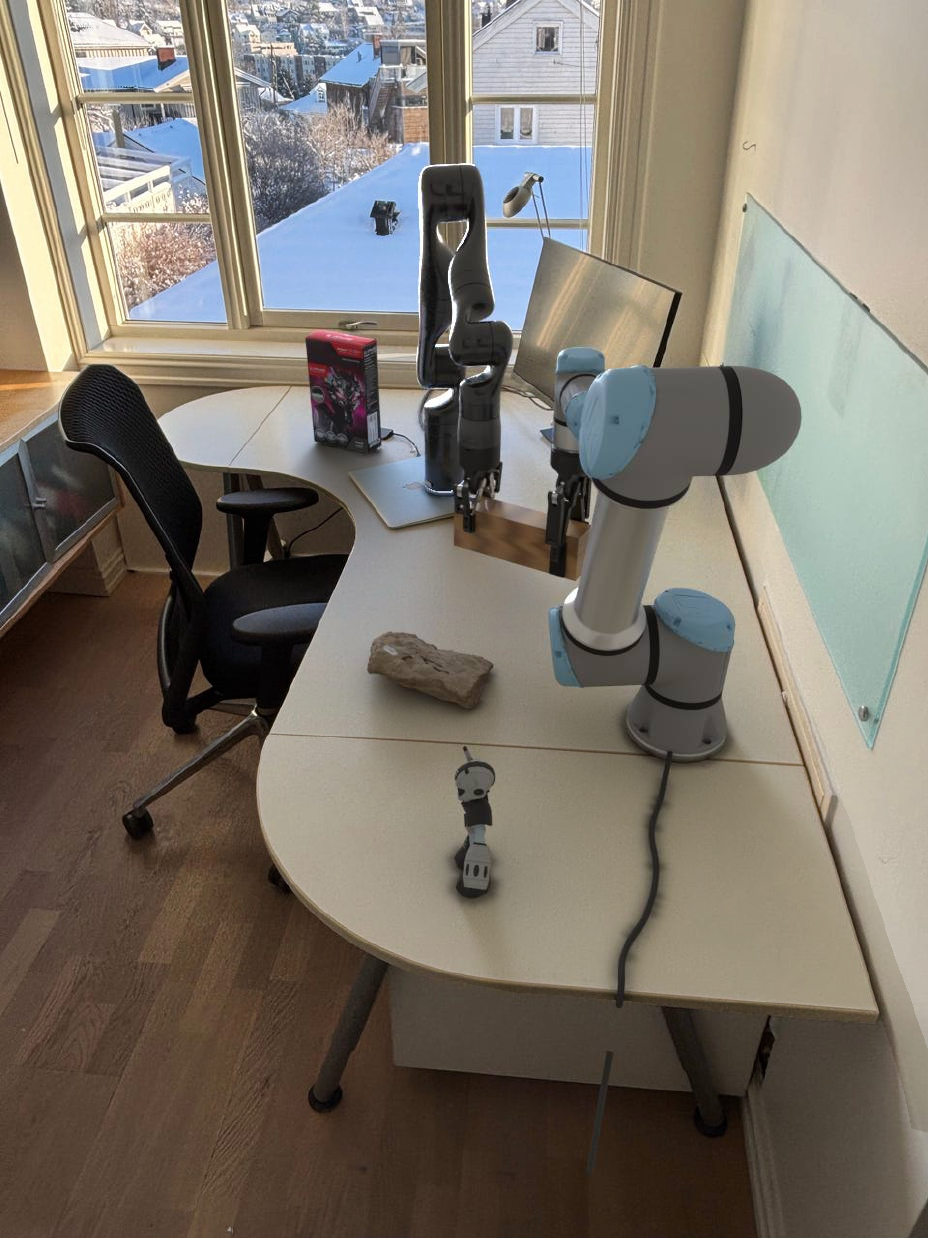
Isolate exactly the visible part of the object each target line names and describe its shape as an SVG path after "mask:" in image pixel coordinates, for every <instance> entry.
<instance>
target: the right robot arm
mask: <svg viewBox="0 0 928 1238" xmlns="http://www.w3.org/2000/svg"><path fill="white" fill-rule="evenodd" d="M554 374H555V380H554V402H553V404H554V405H553V415H552V420H551V422H550V426H551V427H552V432H551V433H552V434H551V442H552V444H551V446H550V458H549V459H550V460H549V461H550V462H549V465H550V467H551V468H552V469H553V470H554V471H555V472H556V473H557V478H556V481H555V489H554V491H552V490H549V491H548V492H547V496H546V497H547V512H546V513H547V524H546V535H545V544H547V545H551V551H550V565H549V573H548V575H550V576H554V577H558V578H562V579H564V578H563V577H564V576H565V566H566V553H567V543H565V540H566V535H567V529H568V524H569V519H571V520H575V521H578V522H582V523H586V524H590V525H591V527H590V532H589V537H588V542H587V547H586V552H585V557H584V562H583V567H582V571H581V576H580V577H579V581H578V586H577V588H575V589H573V590H572V591H571V592H570V593H569V594H568V596H567V597H566V598H565V601H564V602H563V605H557V606H554V607H551V608H550V609H548V612H547V613H548V614H547V615H548V617H547V618H548V630H549V631H548V632H549V642H550V643H549V644H550V651H551V652H550V653H551V660H552V661H551V662H552V668H553V669H552V670H553V674H554V679H555V681H556V682H557V683H558V685H560V686H562V687H570V688H571V687H572V688H574V687H575V688H577V687H578V688H579V689H584V688H595V687H597V688H598V687H599V688H600V687H624V686H629V687H630V686H640V688H639V689H638V691H637V692H636V694H635V695H634V697H633V699H632V701H631V702H630V704H629V706H628V708H627V711H626V719H625V728H626V732H627V734H628V736H629V738H630V739H631V741H632V742H634V744H636V745H637V746H638V747H639V748H640V749H641V750H643V751H645V752H646V753H648V754H650V755H651V756H654V757H656V758H659V759H662V760H665V762H664V767H663V771H662V777H661V783H660V787H659V792H658V797H657V798H656V803H655V805H654V808H653V811H652V814H651V817H650V821H649V826H648V843H649V848H650V853H651V860H652V879H651V887H650V891H649V895H648V898H647V902H646V905H645V907H644V910H643V912H642V915H641V916H640V918H639V920H638V922H637V923H636V925H635V927H633V929H632V930H631V932H630V934H629V935H628V936H627V938H626V940H625V942H624V944H623V945H622V947H621V948H622V949H621V952H620V955H619V959H618V963H617V964H618V965H617V991H616V997H615V998H616V999H615V1007H616V1009H622V1007H623V1005H624V999H625V991H626V990H625V989H626V962H627V957H628V954H629V952H630V949H631V947H632V946H633V944H634V942H635V941H636V939H637V938H638V936H639V934H640V933H641V932H642V930H643V929H644V927H645V925H646V923H647V922H648V919H649V917H650V915H651V912H652V909H653V906H654V903H655V901H656V897H657V892H658V888H659V881H660V858H659V852H658V848H657V843H656V833H655V832H656V824H657V820H658V816H659V814H660V811H661V808H662V805H663V802H664V798H665V794H666V790H667V784H668V779H669V776H670V775H669V774H670V769H671V764H672V762H675V763H694V762H700V761H703V760H706V759H709V758H711V757H714V755H716V754H718V752H720V751H721V750H722V748H723V747H724V744H725V743H726V740H727V739H726V738H727V733H728V721H727V716H726V712H725V708H724V707H725V706H724V701H723V692H724V686H725V682H726V678H727V674H728V669H729V664H730V659H731V654H732V651H733V649H734V646H735V631H736V620H735V617H734V614H733V612H732V611H731V609H730V608H729V607H728V606H727V605H726V604H725V603H723V601H721V600H720V599H718V598H716V597H715V596H712V595H711V594H709V593H706V592H704V591H701V590H698V589H695V588H694V589H693V588H686V587H672V588H667V589H665V590H664V591H660V592H659V593H658V595H657V596H656V597H655V599H654V600H653V604H643V603H642V600H643V597H644V593H645V590H646V588H647V583H648V580H649V577H650V573H651V571H652V568H653V567H652V566H653V563H654V560H655V556H656V554H657V550H658V547H659V543H660V540H661V536H662V534H663V530H664V526H665V523H666V520H667V516H668V513H669V509H670V507H672V506H674V505H675V504H677V503H679V502H680V501H681V500H682V499H684V497H685V496H686V494H687V493H688V492H689V489H690V486H691V483H692V481H693V478H694V477H723V476H724V477H725V476H726V477H727V476H738V475H744V474H749V473H752V472H756V471H759V470H761V469H764V468H766V467H768V466H769V465H771V464H773V463H775V462H777V461H778V460H779V459H780V458H782V457H783V456H784V455H786V453H787V452H788V450H790V449H791V447H792V446H793V445H794V443H795V441H796V439H797V438H798V436H799V432H800V430H801V426H802V418H803V417H802V407H801V403H800V400H799V397H798V396H797V394H796V392H795V389H793V388H792V387H791V385H790V384H789V383H788V382H787V381H785V380H784V379H782V378H781V377H779V376H778V375H776V374H774V373H772V372H771V371H767V370H763V369H761V368H758V367H757V368H756V367H752V366H751V367H750V366H745V365H721V366H719V365H718V366H717V365H716V366H715V365H712V366H711V365H710V366H706V365H705V366H667V367H666V366H665V367H663V366H662V367H648V366H647V365H643V364H636V365H631V366H629V367H615V368H609V369H607V370H606V357H605V355H604V353H603V352H602V351H600V350H598V349H596V348H592V347H588V346H587V347H586V346H572V347H569V348H565V349H563V350H561V351H560V352H559V353H558V355H557V358H556V367H555V370H554ZM592 484H593V487H594V488H595V489H596V490H597V494H596V499H595V503H594V504H595V505H594V508H593V513H592V518H591V523H590V522H589V521H586V520H588V519H589V518H590V513H591V510H590V509H591V501H592V500H591V499H592ZM613 1059H614V1051H610V1050H606V1053H605V1058H604V1064H603V1070H602V1076H601V1083H600V1088H599V1094H598V1101H597V1106H596V1111H595V1118H594V1124H593V1130H592V1136H591V1141H590V1150H589V1154H588V1160H587V1162H588V1163H587V1166H586V1174H587V1175H593V1173H594V1169H595V1168H594V1167H595V1162H596V1157H597V1150H598V1144H599V1139H600V1134H601V1133H600V1132H601V1127H602V1121H603V1115H604V1109H605V1105H606V1099H607V1092H608V1088H609V1087H608V1086H609V1081H610V1075H611V1069H612V1066H613V1065H612V1064H613Z"/></svg>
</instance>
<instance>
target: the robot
mask: <svg viewBox="0 0 928 1238" xmlns="http://www.w3.org/2000/svg"><path fill="white" fill-rule="evenodd" d="M462 751H463V753H464V755H465V759H466V762H464V763H462V764H461V765H460V766H459V767H458V768H456V771H455V774H454V785H455V786H456V787H457V788H456V789H457V799H458V801H460V804H461V807H462V809H463V811H464V813H463V820H464V822H463V823H464V828H465V830H466V832H467V836H466V837H465V840H464V841H463V844H462V845H461V847H460V848H459V850H458V851H457V852H456V854H454V855H455V856H454V857H453V859H454V862H455V863H456V866H457V867H458V868H460V869H461V870H462V871H461V873H460V875H459V877H458V878H457V882H456V885H455V889H456V890H457V891H458V893H460V895H461V896H463V897H466V898H470V899H472V898H478V897H479V896H482V895H484V894H486V893H488V892H489V890H490V887H491V869H492V854H491V849H490V846H488V844H487V843H486V837H485V835H486V826H488V827H493V812H492V811H493V810H492V807H491V804H490V803H489V793H490V791H491V790H490V789H491V788H492V787H493V786H494V784H495V783H496V772H495V769H494V767H493V766H492V765H491V764H489V763H488V762H486V761H484V760H482V759H480V758H474V757H473V756H472V755H471V753H470V751H469V749H468V747H467V746H466V745H463V747H462Z"/></svg>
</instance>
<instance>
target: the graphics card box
mask: <svg viewBox="0 0 928 1238" xmlns="http://www.w3.org/2000/svg"><path fill="white" fill-rule="evenodd" d="M304 340H305V348H306V361H307V369H308V370H307V371H308V373H307V374H308V383H309V394H310V405H311V407H310V408H311V417H312V418H311V419H312V429H313V441H314V443H319V444H323V445H327V446H332V447H335V448H341V449H346V450H350V451H354V452H359V453H363V454H370V453H372V452H373V451H375V450H377V449H379V448H380V447H382V429H381V428H382V426H381V425H382V424H381V423H382V422H381V407H380V388H379V387H380V386H379V366H378V365H379V364H378V341H377V338H369V337H363V336H357V335H354V334H347V333H341V332H335V331H330V330H325V329H317V330H314V331H313V332H310V333H309V334H308V335H306V336H305V337H304Z"/></svg>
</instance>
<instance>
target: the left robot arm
mask: <svg viewBox="0 0 928 1238" xmlns="http://www.w3.org/2000/svg"><path fill="white" fill-rule="evenodd" d="M485 200H486V199H485V190H484V183H483V178H482V173H481V172H480V170H479V168H478V167H477V166H476V165H475V164H472V163H458V164H456V163H455V164H454V163H453V164H434V165H428V166H425V167H424V168H423V169H422V171H421V172H420V176H419V180H418V209H419V231H420V233H419V234H420V256H419V259H420V260H419V276H418V314H419V319H418V320H419V321H418V323H419V326H418V338H417V339H418V340H417V349H416V360H415V361H416V362H415V373H416V380H417V382H418V384H419V386H420V387H421V388H423V389H426V392H425V394H424V395H423V397H422V398H421V400H420V403H419V406H418V410H417V411H418V412H417V416H418V421H419V422H418V423H419V424H420V427H421V428H422V430H423V432H424V433H423V434H424V437H423V438H424V440H423V441H424V481H423V482H424V490H425V491H426V492H427V493H428V494H431V495H433V496H439V497H451V496H453V501H454V503H453V505H454V504H455V513H456V514H461V515H463V531H465V532H468V533H473V532H475V511H476V507H477V504H478V503H480V501H481V496H483V497H487V498H491V499H496V494H499V493H500V492H501V484H502V474H503V473H502V472H503V464H504V463H503V461H501V450H502V449H501V445H502V422H501V399H502V388H503V384H504V379H505V375H506V372H507V369H508V366H509V363H510V360H511V357H512V354H513V349H514V343H515V342H514V334H513V331H512V329H511V327H510V325H508V323H506V322H505V321H503V320H486V319H488V318H489V317H490V316H491V315H492V314H493V312H494V310H495V304H496V302H495V296H494V290H493V285H492V279H491V275H490V268H489V260H488V235H487V234H488V233H487V218H486V216H487V215H486V202H485ZM466 222H467V228H466V232H465V234H464V235H463V239H462V240H461V242H460V244H459V246H458V247H457V249H456V251H455V252H454V251H453V250H452V248H451V247H450V245H449V244H448V243H447V242H446V241H447V240H445V238H444V236H443V234H442V232H441V230H440V228H439V225H440V224H448V223H449V224H450V223H451V224H452V223H466ZM449 329H450V333H449V338H448V343H442V344H441V343H439V344H438V342H439V340H440V339H441V337H442V336H443V335H444V334H445V333H446V332H447V331H448V330H449ZM473 367H485V370H483V372H480V373H478V374H475V375H472V376H469V377H468V368H473ZM445 389H448V390H447V391H446V392H444V393H443V394H441V395H439V396H438V397H435V398H431V399H430V400H428V401H427V402H426V403H425V400H426V399H427V397H428V395H430V392H431V390H445ZM424 403H425V404H424ZM423 404H424V405H423ZM422 409H423V419H422ZM425 485H426V486H427V487H428V488H430V489H432V490H435V491H451V490H453V492H452V493H438V492H433V491H431V490H429V489H427V488H426V487H425ZM469 494H473V495H476V497H475V498H474V497H470V496H469ZM470 501H471V502H472V505H471V508H470Z"/></svg>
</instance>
